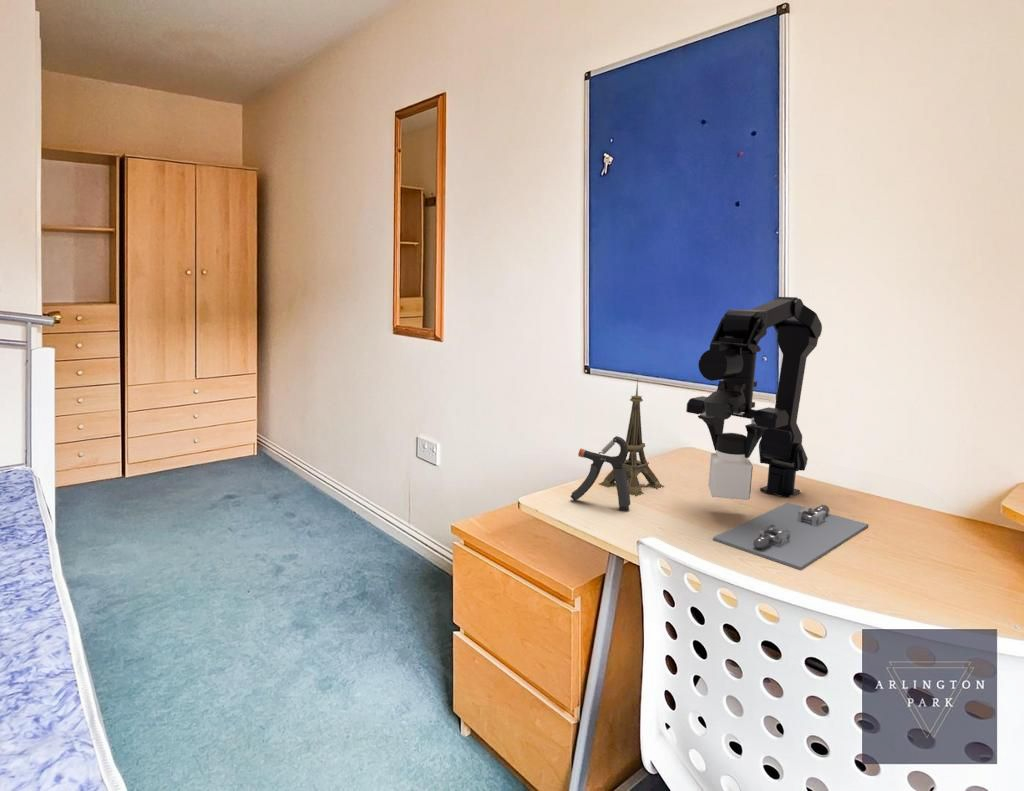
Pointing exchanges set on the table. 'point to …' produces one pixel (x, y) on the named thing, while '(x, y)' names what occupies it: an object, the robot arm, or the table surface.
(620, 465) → the hand grip strengthener
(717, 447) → the medicine bottle
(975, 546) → the table surface
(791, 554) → the rubber mat
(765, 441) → the robot arm
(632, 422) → the eiffel tower
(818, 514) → the chain ends
